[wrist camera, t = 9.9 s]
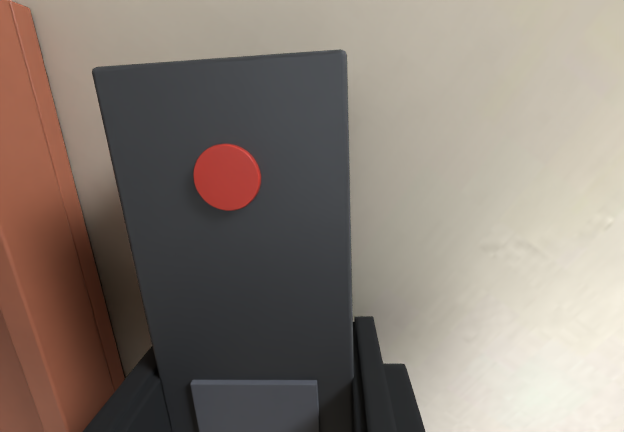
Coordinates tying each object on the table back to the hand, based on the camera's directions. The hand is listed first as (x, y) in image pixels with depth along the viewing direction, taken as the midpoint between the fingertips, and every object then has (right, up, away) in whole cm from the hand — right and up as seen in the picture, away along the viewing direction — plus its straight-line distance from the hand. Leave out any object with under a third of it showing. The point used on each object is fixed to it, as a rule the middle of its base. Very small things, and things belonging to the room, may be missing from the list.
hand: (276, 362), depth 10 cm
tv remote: (0, 0, 0) cm, 0 cm away
